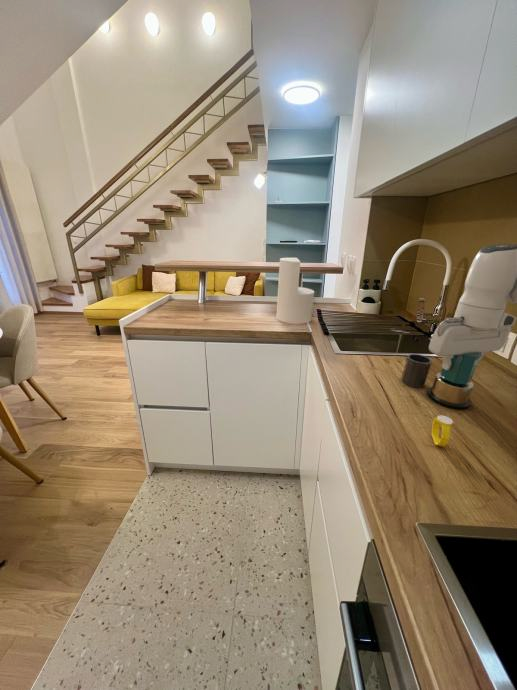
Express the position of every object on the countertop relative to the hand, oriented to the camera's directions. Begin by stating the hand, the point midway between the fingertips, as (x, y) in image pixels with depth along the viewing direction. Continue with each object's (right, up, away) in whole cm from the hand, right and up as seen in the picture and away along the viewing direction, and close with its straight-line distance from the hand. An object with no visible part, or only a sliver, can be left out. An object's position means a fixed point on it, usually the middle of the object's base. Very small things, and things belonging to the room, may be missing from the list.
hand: (458, 367), depth 72 cm
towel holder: (0, -9, +4) cm, 10 cm away
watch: (-13, -15, -12) cm, 23 cm away
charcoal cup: (-6, -5, +11) cm, 14 cm away
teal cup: (0, -3, +1) cm, 3 cm away
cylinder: (-34, +19, +67) cm, 77 cm away
